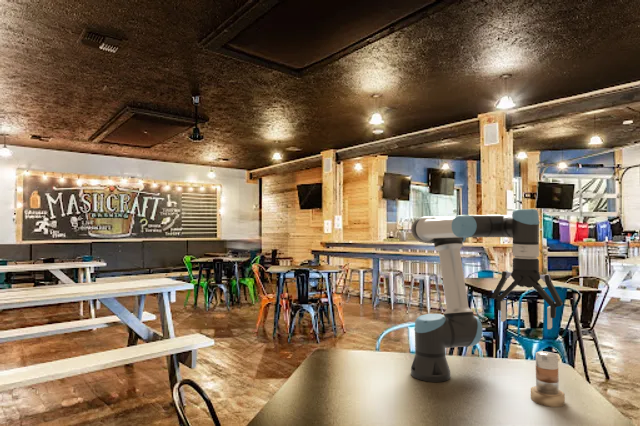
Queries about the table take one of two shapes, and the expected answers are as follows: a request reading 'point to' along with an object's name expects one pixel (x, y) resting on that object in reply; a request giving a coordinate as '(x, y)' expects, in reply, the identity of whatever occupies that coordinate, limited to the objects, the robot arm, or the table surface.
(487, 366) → the table surface
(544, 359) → the can
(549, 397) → the stand
